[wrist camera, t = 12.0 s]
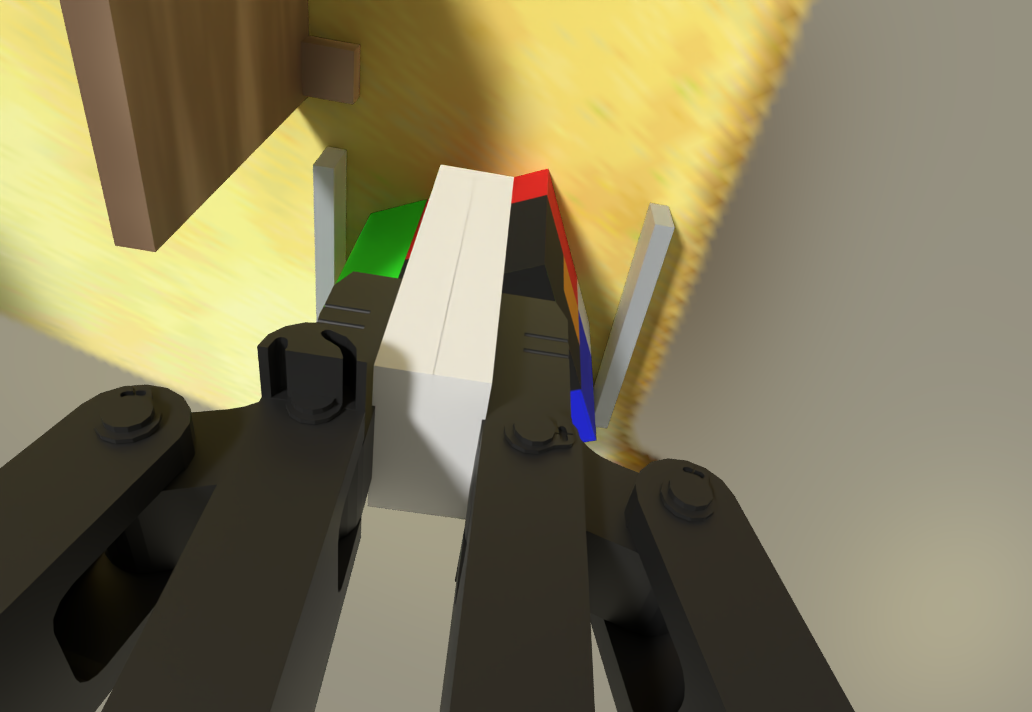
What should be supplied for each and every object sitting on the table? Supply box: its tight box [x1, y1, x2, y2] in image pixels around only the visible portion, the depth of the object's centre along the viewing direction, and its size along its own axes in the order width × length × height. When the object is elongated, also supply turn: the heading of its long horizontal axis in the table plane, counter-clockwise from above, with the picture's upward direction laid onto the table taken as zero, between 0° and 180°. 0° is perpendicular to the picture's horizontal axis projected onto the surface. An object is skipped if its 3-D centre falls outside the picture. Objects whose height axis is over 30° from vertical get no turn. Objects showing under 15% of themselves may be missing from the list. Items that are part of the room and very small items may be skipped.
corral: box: [313, 146, 675, 428], centre depth 39 cm, size 18×14×2 cm
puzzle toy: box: [319, 169, 596, 442], centre depth 35 cm, size 10×10×10 cm
